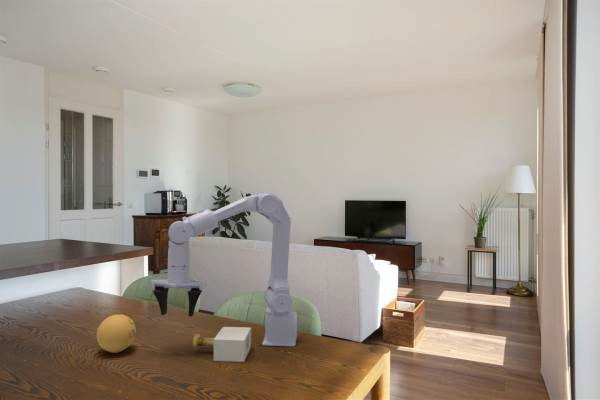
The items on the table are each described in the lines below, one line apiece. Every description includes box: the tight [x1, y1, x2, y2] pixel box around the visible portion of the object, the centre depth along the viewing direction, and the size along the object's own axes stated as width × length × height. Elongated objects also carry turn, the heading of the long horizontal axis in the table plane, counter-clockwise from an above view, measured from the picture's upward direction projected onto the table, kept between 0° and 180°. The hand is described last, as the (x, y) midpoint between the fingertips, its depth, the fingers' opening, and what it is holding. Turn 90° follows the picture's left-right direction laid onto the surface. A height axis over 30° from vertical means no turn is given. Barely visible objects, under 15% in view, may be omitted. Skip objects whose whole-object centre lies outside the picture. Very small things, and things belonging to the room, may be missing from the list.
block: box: [213, 326, 252, 363], centre depth 110 cm, size 8×10×6 cm
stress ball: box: [96, 313, 137, 354], centre depth 111 cm, size 10×10×10 cm
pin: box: [191, 333, 215, 350], centre depth 111 cm, size 13×4×4 cm, turn 87°
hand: (177, 314), depth 111 cm, fingers open, 7 cm apart
